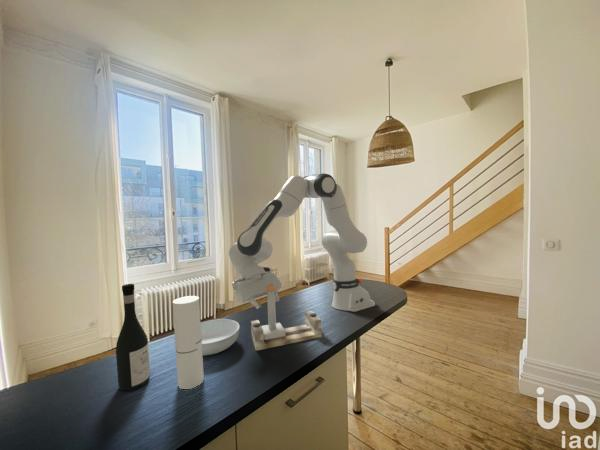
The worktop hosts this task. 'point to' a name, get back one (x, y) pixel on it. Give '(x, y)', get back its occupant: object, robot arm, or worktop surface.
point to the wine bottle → (131, 347)
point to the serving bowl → (218, 335)
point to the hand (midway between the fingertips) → (268, 304)
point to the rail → (288, 333)
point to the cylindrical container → (188, 341)
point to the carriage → (272, 317)
